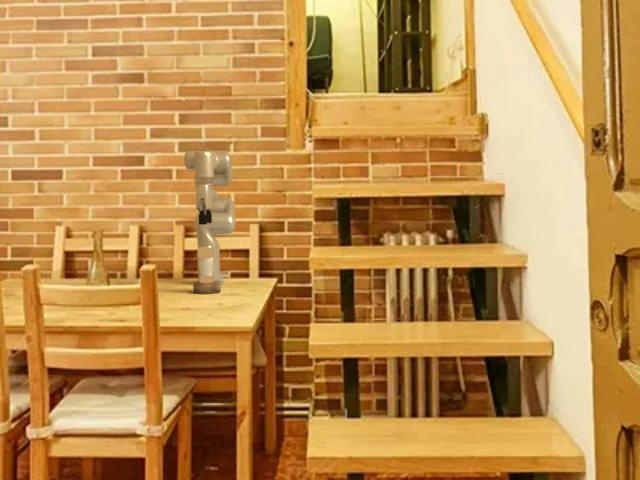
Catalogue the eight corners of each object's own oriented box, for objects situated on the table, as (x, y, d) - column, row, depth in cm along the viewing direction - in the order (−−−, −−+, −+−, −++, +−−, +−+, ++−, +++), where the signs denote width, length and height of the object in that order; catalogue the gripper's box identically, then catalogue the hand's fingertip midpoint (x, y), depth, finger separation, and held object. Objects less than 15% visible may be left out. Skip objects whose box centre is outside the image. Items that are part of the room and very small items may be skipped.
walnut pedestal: (209, 289, 301) (209, 279, 300) (226, 291, 293) (225, 282, 293) (188, 292, 293) (187, 282, 292) (204, 295, 285) (204, 285, 285)
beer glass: (194, 283, 290) (193, 246, 289) (203, 280, 297) (203, 245, 296) (209, 284, 288) (208, 247, 287) (218, 281, 294) (217, 245, 293)
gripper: (199, 181, 298) (200, 222, 299) (190, 181, 281) (191, 225, 282) (217, 181, 297) (218, 222, 299) (209, 181, 280) (210, 225, 282)
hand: (205, 223), depth 290 cm, fingers open, 9 cm apart
